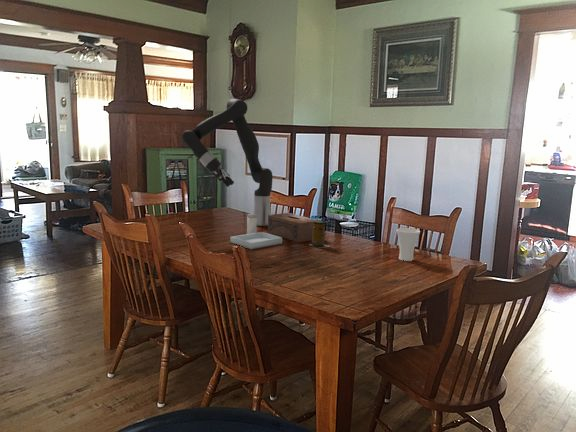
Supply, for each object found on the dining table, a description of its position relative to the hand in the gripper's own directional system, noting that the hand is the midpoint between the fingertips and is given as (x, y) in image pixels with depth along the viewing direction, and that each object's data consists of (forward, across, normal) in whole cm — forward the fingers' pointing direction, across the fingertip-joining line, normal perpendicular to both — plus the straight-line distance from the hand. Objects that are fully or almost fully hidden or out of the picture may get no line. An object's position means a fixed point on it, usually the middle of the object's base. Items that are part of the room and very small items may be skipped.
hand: (231, 184), depth 260 cm
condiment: (+53, -15, -16) cm, 57 cm away
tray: (+31, -18, +6) cm, 36 cm away
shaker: (+27, 0, +10) cm, 29 cm away
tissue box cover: (+42, +4, -5) cm, 43 cm away
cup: (+81, -31, -44) cm, 98 cm away
